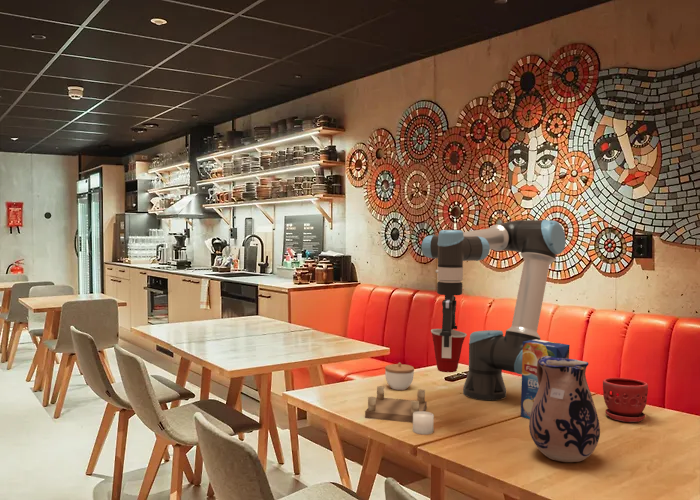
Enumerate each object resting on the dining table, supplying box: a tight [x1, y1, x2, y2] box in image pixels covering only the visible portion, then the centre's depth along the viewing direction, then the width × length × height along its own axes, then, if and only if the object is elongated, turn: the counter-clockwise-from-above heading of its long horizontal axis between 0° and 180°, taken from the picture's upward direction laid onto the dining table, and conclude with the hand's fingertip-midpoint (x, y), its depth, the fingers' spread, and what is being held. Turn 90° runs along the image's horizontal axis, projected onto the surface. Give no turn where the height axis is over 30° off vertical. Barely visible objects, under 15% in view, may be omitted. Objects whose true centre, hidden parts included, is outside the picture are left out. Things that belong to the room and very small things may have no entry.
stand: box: [364, 385, 428, 423], centre depth 197 cm, size 17×17×6 cm
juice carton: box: [520, 339, 570, 420], centre depth 193 cm, size 12×8×24 cm, turn 41°
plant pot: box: [602, 377, 649, 423], centre depth 195 cm, size 13×13×12 cm
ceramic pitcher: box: [528, 356, 601, 463], centre depth 162 cm, size 18×21×25 cm
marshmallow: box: [412, 410, 435, 435], centre depth 179 cm, size 6×6×5 cm
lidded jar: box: [384, 362, 415, 391], centre depth 228 cm, size 11×11×9 cm
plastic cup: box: [430, 328, 467, 373], centre depth 185 cm, size 11×11×12 cm
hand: (448, 354), depth 185 cm, fingers closed on plastic cup, 11 cm apart
